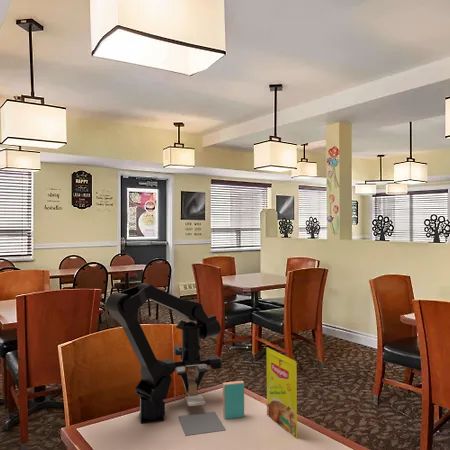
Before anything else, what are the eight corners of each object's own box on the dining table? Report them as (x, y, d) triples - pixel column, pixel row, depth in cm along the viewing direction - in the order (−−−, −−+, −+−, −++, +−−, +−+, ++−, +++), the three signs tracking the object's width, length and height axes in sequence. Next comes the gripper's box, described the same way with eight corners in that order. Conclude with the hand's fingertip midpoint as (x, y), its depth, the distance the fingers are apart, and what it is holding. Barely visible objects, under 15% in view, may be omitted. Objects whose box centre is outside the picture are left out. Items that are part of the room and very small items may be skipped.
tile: (224, 419, 122) (224, 384, 122) (223, 417, 123) (222, 382, 123) (244, 417, 123) (244, 382, 123) (242, 414, 125) (242, 380, 125)
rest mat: (185, 436, 112) (185, 435, 112) (178, 417, 124) (178, 416, 124) (225, 430, 115) (225, 429, 115) (214, 412, 127) (214, 411, 127)
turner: (180, 389, 137) (180, 377, 138) (195, 388, 139) (195, 375, 139) (188, 406, 124) (188, 392, 124) (205, 404, 125) (205, 390, 125)
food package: (265, 415, 124) (264, 347, 125) (268, 414, 125) (268, 346, 125) (295, 439, 110) (294, 361, 111) (298, 438, 111) (298, 361, 111)
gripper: (213, 333, 144) (214, 379, 144) (158, 337, 139) (158, 385, 139) (222, 341, 133) (222, 391, 133) (162, 346, 128) (162, 398, 128)
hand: (191, 391), depth 133 cm, fingers closed on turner, 2 cm apart
